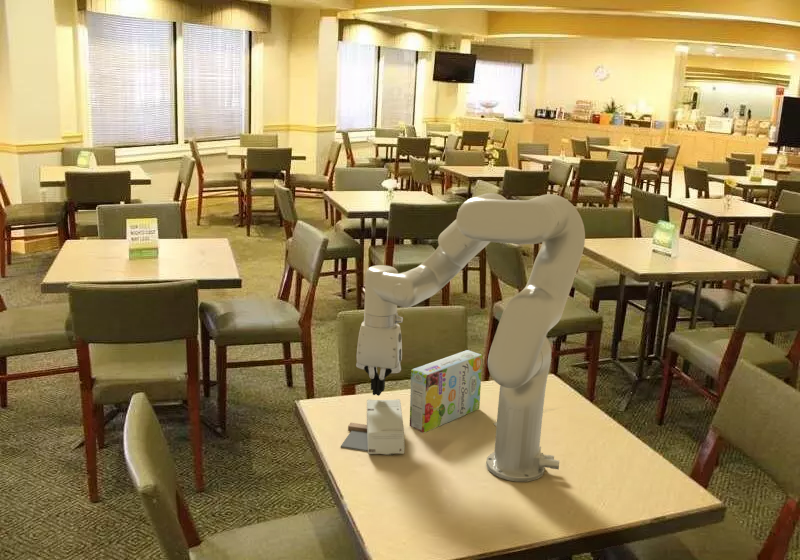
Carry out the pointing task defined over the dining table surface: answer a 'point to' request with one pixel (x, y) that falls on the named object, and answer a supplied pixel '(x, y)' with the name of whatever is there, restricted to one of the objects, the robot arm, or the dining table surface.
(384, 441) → the skincare box
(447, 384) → the snack box
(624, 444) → the dining table surface
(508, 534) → the dining table surface
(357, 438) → the mat
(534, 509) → the dining table surface
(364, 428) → the rail
